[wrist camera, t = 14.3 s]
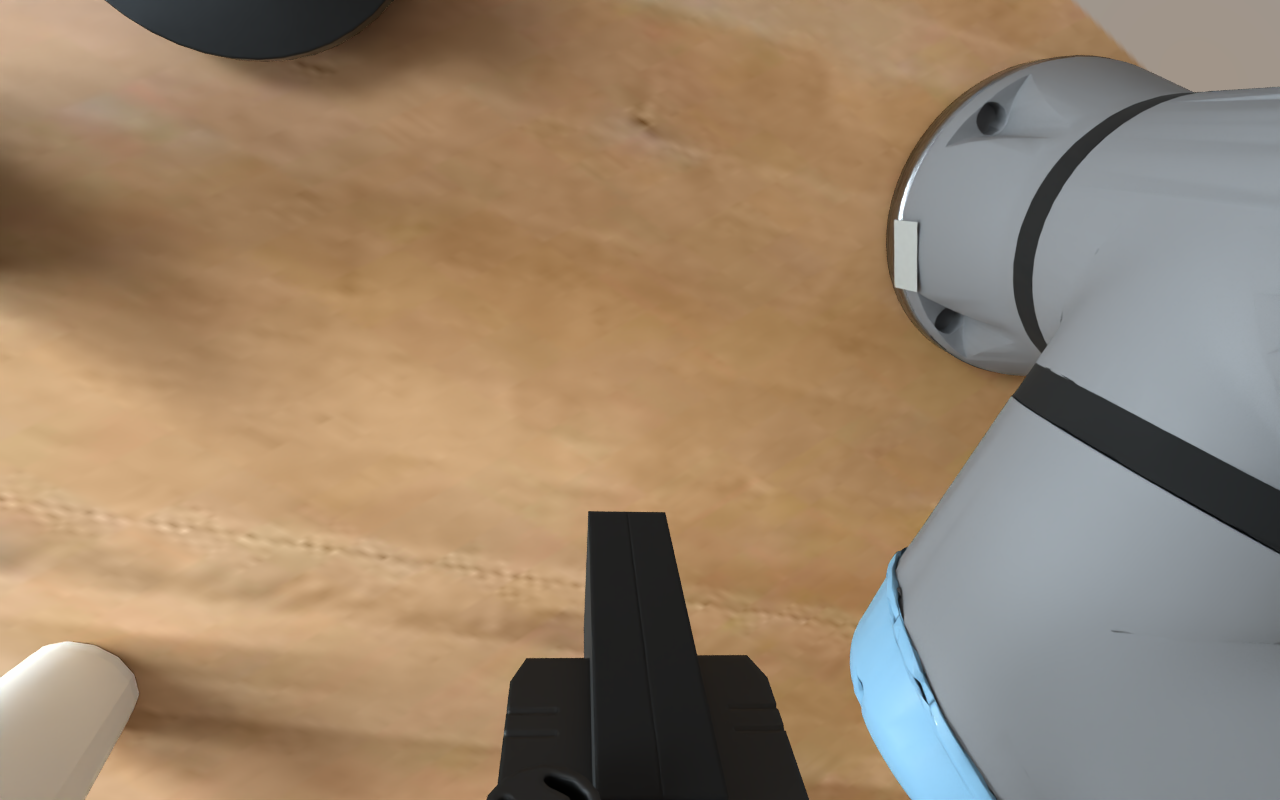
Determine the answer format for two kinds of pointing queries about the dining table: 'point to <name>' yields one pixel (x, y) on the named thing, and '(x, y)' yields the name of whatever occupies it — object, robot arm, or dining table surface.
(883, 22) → the dining table surface
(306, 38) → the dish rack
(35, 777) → the foam cup
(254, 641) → the dining table surface
